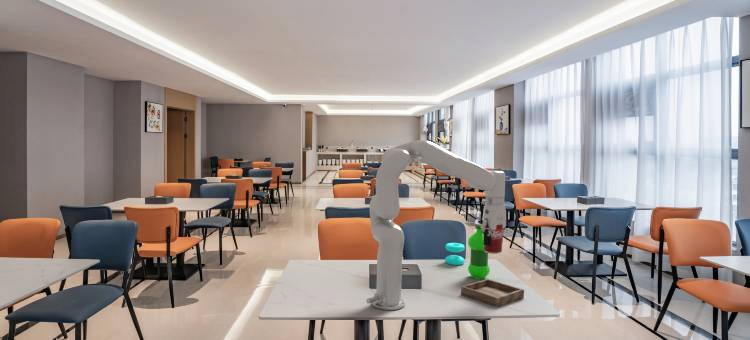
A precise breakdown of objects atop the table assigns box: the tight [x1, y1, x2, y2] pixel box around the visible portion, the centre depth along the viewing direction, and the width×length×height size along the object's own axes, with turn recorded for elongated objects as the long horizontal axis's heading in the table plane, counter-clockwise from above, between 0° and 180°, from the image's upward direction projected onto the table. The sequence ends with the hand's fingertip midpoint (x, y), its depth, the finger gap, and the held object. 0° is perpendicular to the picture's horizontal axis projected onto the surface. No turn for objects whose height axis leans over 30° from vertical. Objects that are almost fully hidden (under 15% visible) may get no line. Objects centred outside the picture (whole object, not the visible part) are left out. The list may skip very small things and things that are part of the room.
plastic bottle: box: [467, 223, 490, 280], centre depth 214 cm, size 10×10×25 cm
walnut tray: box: [460, 278, 525, 308], centre depth 188 cm, size 18×18×4 cm
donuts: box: [444, 242, 465, 266], centre depth 239 cm, size 10×10×10 cm
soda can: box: [484, 224, 504, 255], centre depth 187 cm, size 7×7×12 cm
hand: (493, 243), depth 187 cm, fingers closed on soda can, 7 cm apart
